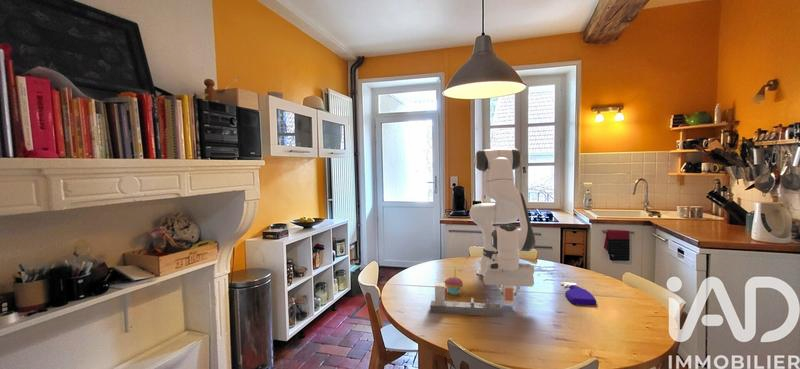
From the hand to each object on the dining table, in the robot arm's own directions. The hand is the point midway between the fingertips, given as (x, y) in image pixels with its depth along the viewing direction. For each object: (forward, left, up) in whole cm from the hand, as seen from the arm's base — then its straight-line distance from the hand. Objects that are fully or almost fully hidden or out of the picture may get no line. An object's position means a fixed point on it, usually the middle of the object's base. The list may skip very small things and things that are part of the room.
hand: (508, 295), depth 143 cm
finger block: (0, 0, -3) cm, 3 cm away
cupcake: (-12, -23, -5) cm, 27 cm away
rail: (+8, -18, -5) cm, 20 cm away
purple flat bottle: (-18, +32, -6) cm, 37 cm away
